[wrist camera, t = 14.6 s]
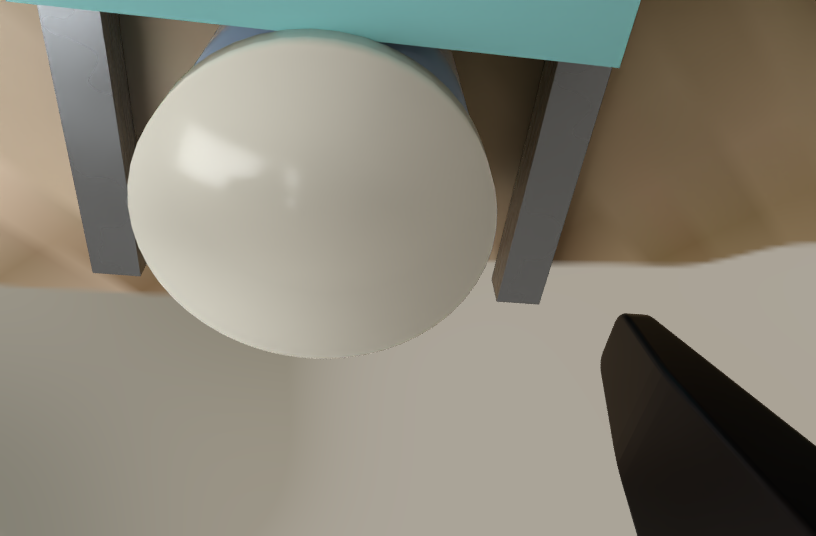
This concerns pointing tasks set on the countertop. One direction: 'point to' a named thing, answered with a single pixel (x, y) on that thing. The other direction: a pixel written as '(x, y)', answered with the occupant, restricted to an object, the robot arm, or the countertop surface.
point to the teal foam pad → (420, 22)
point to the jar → (314, 191)
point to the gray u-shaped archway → (115, 144)
